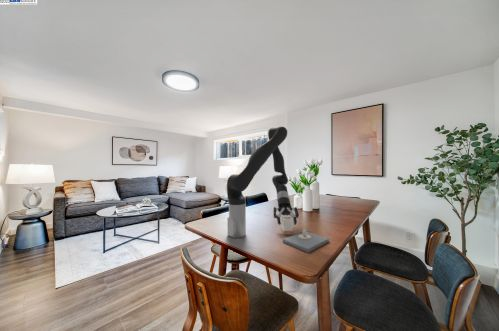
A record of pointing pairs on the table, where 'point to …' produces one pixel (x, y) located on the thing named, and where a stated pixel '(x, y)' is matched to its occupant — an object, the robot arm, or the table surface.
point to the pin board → (306, 241)
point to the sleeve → (287, 225)
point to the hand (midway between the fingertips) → (287, 224)
